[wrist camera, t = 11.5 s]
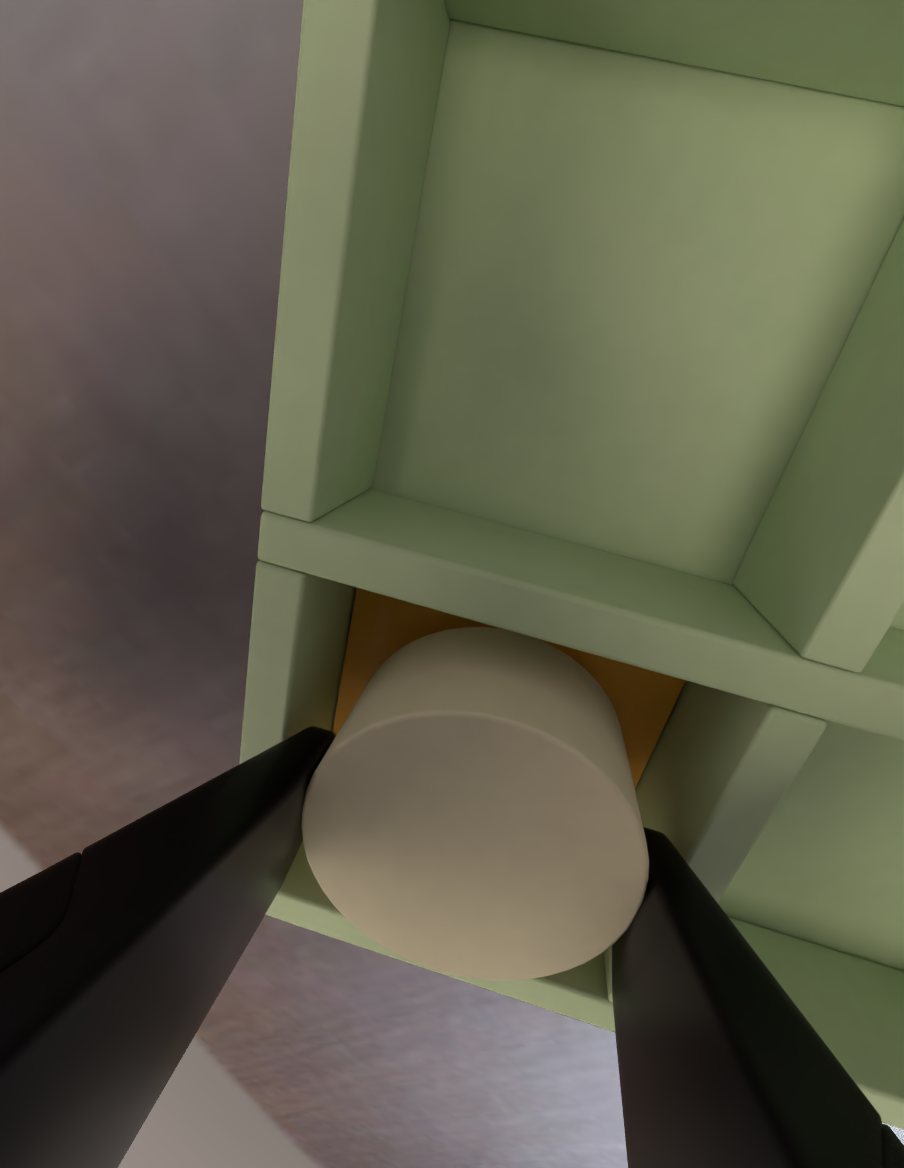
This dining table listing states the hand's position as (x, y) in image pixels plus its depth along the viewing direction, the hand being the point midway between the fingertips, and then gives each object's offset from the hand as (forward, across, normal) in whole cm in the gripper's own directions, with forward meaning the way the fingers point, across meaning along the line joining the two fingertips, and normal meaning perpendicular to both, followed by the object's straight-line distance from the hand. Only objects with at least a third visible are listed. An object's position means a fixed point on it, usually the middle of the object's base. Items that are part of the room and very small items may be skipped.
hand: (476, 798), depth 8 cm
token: (+1, 0, 0) cm, 1 cm away
